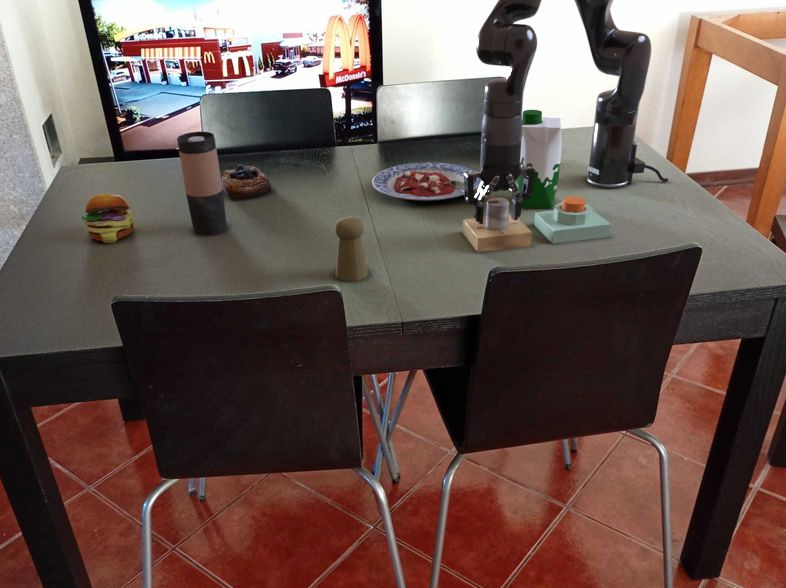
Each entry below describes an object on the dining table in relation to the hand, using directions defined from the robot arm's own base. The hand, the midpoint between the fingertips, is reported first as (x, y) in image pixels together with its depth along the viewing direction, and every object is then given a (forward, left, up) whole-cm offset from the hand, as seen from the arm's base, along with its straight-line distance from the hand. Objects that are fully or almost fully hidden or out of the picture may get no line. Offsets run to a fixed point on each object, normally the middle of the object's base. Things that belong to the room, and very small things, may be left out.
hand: (496, 220), depth 151 cm
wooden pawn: (+31, +8, -4) cm, 32 cm away
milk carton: (-15, -17, -4) cm, 23 cm away
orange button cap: (-16, 0, 0) cm, 16 cm away
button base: (-16, 0, -4) cm, 16 cm away
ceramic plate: (+6, -33, -4) cm, 34 cm away
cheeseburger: (+78, -25, -4) cm, 82 cm away
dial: (0, 0, -1) cm, 1 cm away
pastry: (+48, -44, -4) cm, 65 cm away
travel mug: (+57, -22, -4) cm, 61 cm away
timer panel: (0, 0, -4) cm, 4 cm away
